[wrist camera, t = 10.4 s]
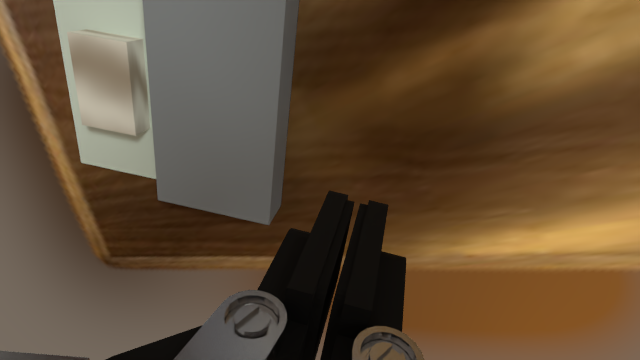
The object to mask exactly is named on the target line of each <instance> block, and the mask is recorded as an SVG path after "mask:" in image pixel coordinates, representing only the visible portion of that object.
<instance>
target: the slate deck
mask: <svg viewBox="0 0 640 360" xmlns="http://www.w3.org/2000/svg"><path fill="white" fill-rule="evenodd" d="M142 1H143V14H144V27H145V40H146V53H147V65H148V78H149V91H150V104H151V117H152V129H153V142H154V155H155V168H156V181H157V194H158V200H160V201H165V202H169V203H173V204H178V205H182V206H187V207H191V208H195V209H200V210H204V211H209V212H213V213H217V214H222V215H226V216H231V217H235V218H239V219H244V220H248V221H253V222H257V223H261V224H266V225H269V224H270V223H271V221H272V219H273V218H274V216H275V214H276V213H277V211H278V209H279V208H280V206H281V198H282V187H283V176H284V165H285V153H286V142H287V131H288V120H289V109H290V97H291V86H292V75H293V64H294V53H295V41H296V30H297V19H298V8H299V0H142Z"/></svg>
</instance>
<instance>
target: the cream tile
mask: <svg viewBox="0 0 640 360" xmlns="http://www.w3.org/2000/svg"><path fill="white" fill-rule="evenodd" d="M67 35H68V42H69V48H70V54H71V60H72V66H73V72H74V78H75V84H76V90H77V96H78V102H79V109H80V115H81V121H82V125H85V126H90V127H95V128H100V129H105V130H110V131H115V132H119V133H124V134H129V135H134V136H137V135H138V134H140V133H142V132H144V131H146V130H148V129H149V128H150V117H149V104H148V92H147V80H146V67H145V55H144V42H143V39H141V38H135V37H129V36H123V35H117V34H112V33H106V32H100V31H94V30H88V29H85V30H78V31H70V32H67Z"/></svg>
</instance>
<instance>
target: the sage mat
mask: <svg viewBox="0 0 640 360" xmlns="http://www.w3.org/2000/svg"><path fill="white" fill-rule="evenodd" d="M53 2H54V8H55V14H56V20H57V25H58V31H59V37H60V43H61V48H62V54H63V60H64V66H65V72H66V77H67V83H68V89H69V95H70V100H71V106H72V112H73V118H74V124H75V129H76V135H77V141H78V147H79V152H80V158H81V163H85V164H90V165H94V166H99V167H103V168H108V169H112V170H117V171H121V172H126V173H130V174H135V175H140V176H144V177H149V178H153V179H156V168H155V155H154V142H153V129H152V117H151V104H150V91H149V78H148V65H147V53H146V40H145V27H144V14H143V1H142V0H53ZM85 29H88V30H94V31H100V32H106V33H112V34H117V35H123V36H129V37H135V38H141V39H143V42H144V55H145V67H146V80H147V92H148V104H149V117H150V128H149V129H148V130H146V131H144V132H142V133H140V134H138V135H137V136H134V135H129V134H124V133H119V132H115V131H110V130H105V129H100V128H95V127H90V126H85V125H82V121H81V115H80V109H79V102H78V96H77V90H76V84H75V78H74V72H73V66H72V60H71V54H70V48H69V42H68V35H67V32H70V31H78V30H85Z"/></svg>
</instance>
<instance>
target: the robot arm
mask: <svg viewBox="0 0 640 360" xmlns="http://www.w3.org/2000/svg"><path fill="white" fill-rule="evenodd" d="M353 206H354V202H353V201H349V200H348V195H345V194H341V193H337V192H333V191H329V192H328V194H327V196H326V199H325V201H324V203H323V206H322V208H321V210H320V212H319V215H318V217H317V219H316V222H315V224H314V226H313V228H312V231H311V233H309V232H305V231H301V230H297V229H293V228H291V229H290V230H289V231H288V233H287V235H286V237H285V239H284V240H283V242H282V244H281V246H280V248H279V250H278V252H277V254H276V256H275V258H274V259H273V261H272V263H271V265H270V267H269V269H268V271H267V273H266V275H265V276H264V278H263V281H262V282H261V284H260V286H259V288H258V290H247V291H242V292H238V293H236V294H234V295H232V296H230V297H229V298H227V299H226V300H225V301H224V302H223V303H222V304H221V305H220V306H219V307H218V308H217V310H216V311H215V312H214V313H213V314H212V315H211V317H210V318H209V319H208V320H207V321H206V322H205V323H204V325H202V326H199V327H196V328H194V329H191V330H188V331H185V332H182V333H179V334H176V335H173V336H170V337H167V338H165V339H162V340H159V341H156V342H153V343H150V344H147V345H144V346H141V347H138V348H135V349H133V350H130V351H127V352H124V353H121V354H118V355H115V356H112V357H110V358H108V359H106V360H315V358H316V354H317V351H318V347H319V344H320V340H321V337H322V333H323V330H324V326H325V322H326V319H327V315H328V312H329V308H330V305H331V301H332V298H333V294H334V291H335V287H336V283H337V279H338V275H339V271H340V266H341V262H342V257H343V252H344V248H345V243H346V239H347V234H348V229H349V225H350V220H351V216H352V211H353ZM387 210H388V205H387V204H383V203H378V202H374V201H370V200H369V203H368V205H365V204H361V203H360V206H359V210H358V214H357V217H356V221H355V224H354V228H353V232H352V235H351V239H350V242H349V246H348V250H347V253H346V257H345V260H344V264H343V268H342V271H341V275H340V278H339V282H338V286H337V289H336V293H335V297H334V301H333V305H332V310H331V314H330V318H329V323H328V327H327V332H326V337H325V341H324V346H323V350H322V355H321V360H424V358H423V355H422V352H421V350H420V349H419V348H418V346H417V344H416V343H415V342H414V341H413V340H412V339H411V338H409V337H408V336H407V335H406V334H404V333H402V321H403V306H404V290H405V273H406V258H405V257H401V256H397V255H394V254H390V253H386V252H382V251H381V249H382V242H383V236H384V229H385V223H386V216H387ZM0 360H90V359H89V358H85V357H72V356H59V355H47V354H34V353H20V352H8V351H0Z"/></svg>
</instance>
